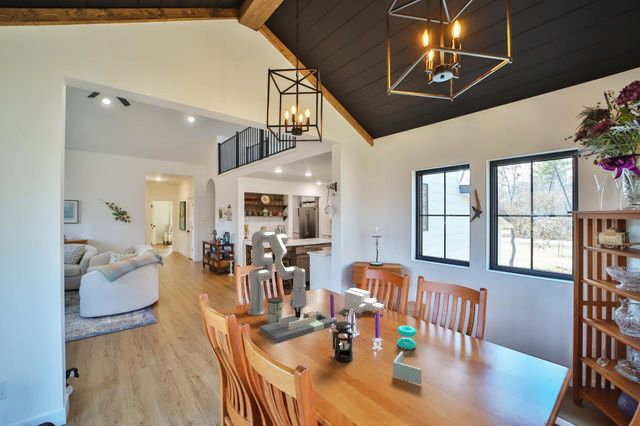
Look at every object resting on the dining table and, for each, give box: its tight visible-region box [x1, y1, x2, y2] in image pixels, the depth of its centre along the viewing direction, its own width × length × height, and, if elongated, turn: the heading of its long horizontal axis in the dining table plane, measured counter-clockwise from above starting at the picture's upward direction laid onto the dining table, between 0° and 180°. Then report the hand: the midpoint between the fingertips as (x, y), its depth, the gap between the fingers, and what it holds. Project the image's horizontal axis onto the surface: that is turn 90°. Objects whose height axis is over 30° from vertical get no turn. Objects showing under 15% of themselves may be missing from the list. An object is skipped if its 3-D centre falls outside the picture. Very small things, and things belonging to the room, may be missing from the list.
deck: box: [259, 311, 338, 344], centre depth 180 cm, size 20×45×7 cm, turn 129°
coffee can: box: [266, 296, 284, 324], centre depth 191 cm, size 10×10×14 cm
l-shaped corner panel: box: [392, 350, 422, 385], centre depth 128 cm, size 12×12×8 cm
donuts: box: [396, 325, 417, 350], centre depth 156 cm, size 10×10×10 cm
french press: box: [332, 311, 354, 364], centre depth 143 cm, size 12×9×23 cm
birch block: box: [302, 310, 316, 323], centre depth 184 cm, size 6×6×5 cm
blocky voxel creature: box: [343, 287, 385, 315], centre depth 212 cm, size 15×25×28 cm
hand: (297, 317), depth 179 cm, fingers closed
